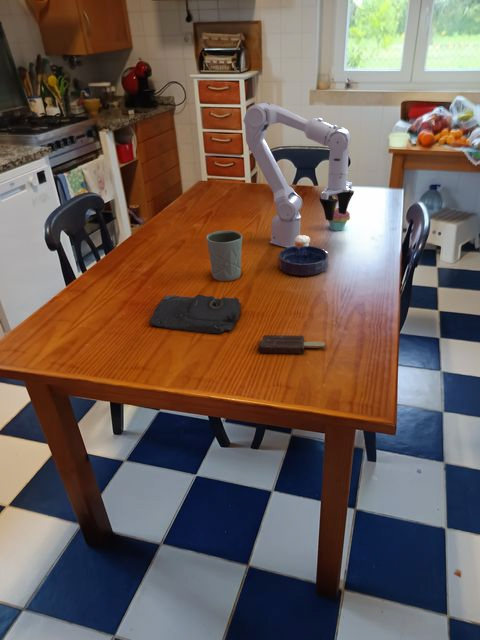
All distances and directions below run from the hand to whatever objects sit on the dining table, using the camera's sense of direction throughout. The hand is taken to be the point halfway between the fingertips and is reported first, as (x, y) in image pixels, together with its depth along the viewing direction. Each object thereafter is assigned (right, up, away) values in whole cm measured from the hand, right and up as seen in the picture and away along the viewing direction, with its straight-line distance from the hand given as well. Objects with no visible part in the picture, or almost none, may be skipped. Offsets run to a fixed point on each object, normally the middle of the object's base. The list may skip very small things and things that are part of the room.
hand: (335, 216), depth 154 cm
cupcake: (+4, +2, +21) cm, 22 cm away
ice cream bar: (-17, -42, -43) cm, 63 cm away
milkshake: (-11, -17, -7) cm, 21 cm away
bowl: (-11, -17, -6) cm, 21 cm away
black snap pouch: (-40, -34, -30) cm, 61 cm away
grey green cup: (-34, -20, -9) cm, 41 cm away
